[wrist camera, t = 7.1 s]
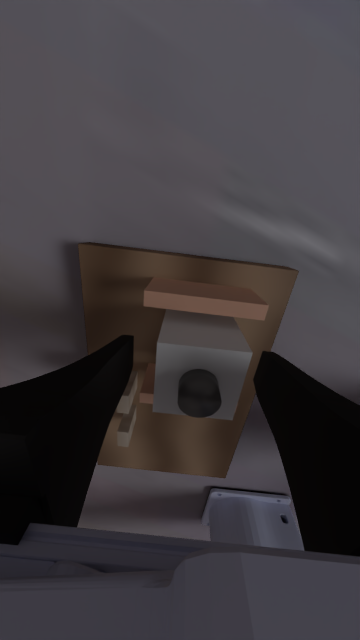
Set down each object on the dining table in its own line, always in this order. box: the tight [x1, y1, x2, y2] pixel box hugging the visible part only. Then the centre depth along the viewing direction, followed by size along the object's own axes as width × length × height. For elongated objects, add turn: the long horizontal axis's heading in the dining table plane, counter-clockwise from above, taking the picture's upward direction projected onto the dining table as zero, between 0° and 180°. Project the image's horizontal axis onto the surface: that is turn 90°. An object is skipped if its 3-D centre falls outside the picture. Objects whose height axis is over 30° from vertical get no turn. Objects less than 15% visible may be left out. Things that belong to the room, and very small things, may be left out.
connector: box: [152, 309, 253, 420], centre depth 11 cm, size 4×4×6 cm
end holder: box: [140, 277, 269, 412], centre depth 12 cm, size 6×7×3 cm
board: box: [78, 242, 299, 478], centre depth 15 cm, size 13×21×4 cm, turn 173°
